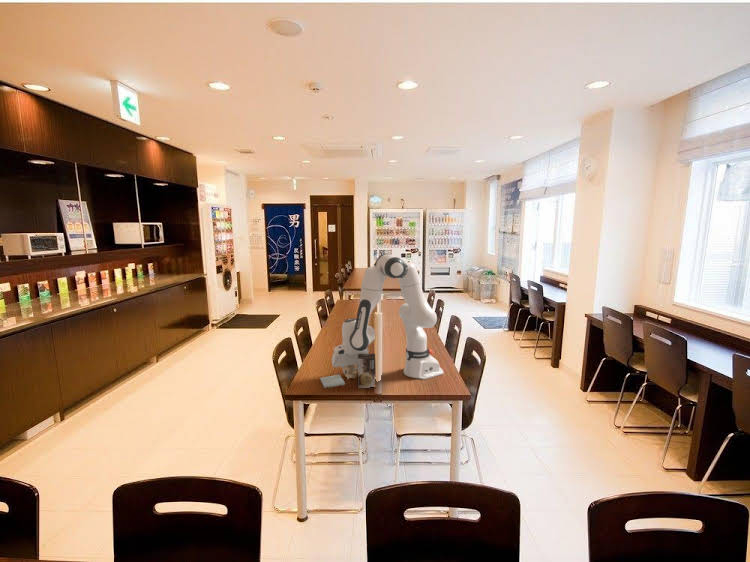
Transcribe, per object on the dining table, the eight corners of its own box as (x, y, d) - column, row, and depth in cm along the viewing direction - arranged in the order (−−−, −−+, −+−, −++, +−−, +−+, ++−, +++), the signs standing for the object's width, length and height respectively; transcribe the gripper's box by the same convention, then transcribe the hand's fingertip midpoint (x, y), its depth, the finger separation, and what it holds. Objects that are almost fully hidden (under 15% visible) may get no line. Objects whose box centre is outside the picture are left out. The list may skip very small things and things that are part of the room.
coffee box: (375, 382, 186) (375, 353, 183) (375, 388, 180) (375, 357, 177) (358, 382, 186) (358, 353, 183) (358, 388, 179) (357, 358, 177)
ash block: (353, 374, 196) (353, 364, 195) (356, 377, 192) (356, 367, 191) (345, 375, 195) (345, 365, 194) (347, 379, 190) (347, 368, 189)
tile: (339, 376, 193) (339, 374, 193) (345, 384, 183) (345, 382, 183) (320, 379, 190) (320, 377, 190) (324, 388, 180) (324, 386, 179)
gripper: (366, 344, 197) (366, 367, 199) (330, 348, 190) (331, 372, 192) (370, 347, 191) (370, 371, 193) (333, 352, 184) (334, 377, 186)
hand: (350, 372), depth 193 cm, fingers closed on ash block, 5 cm apart
